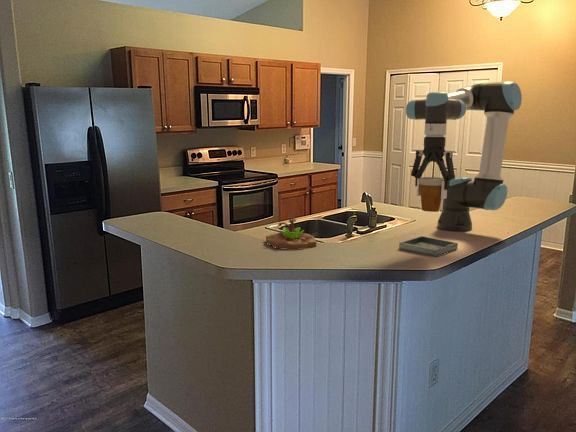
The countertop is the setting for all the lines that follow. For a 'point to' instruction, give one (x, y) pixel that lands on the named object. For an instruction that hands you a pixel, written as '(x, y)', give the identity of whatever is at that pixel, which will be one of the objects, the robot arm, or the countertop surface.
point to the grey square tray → (428, 246)
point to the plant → (291, 238)
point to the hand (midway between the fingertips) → (431, 196)
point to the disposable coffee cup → (430, 193)
